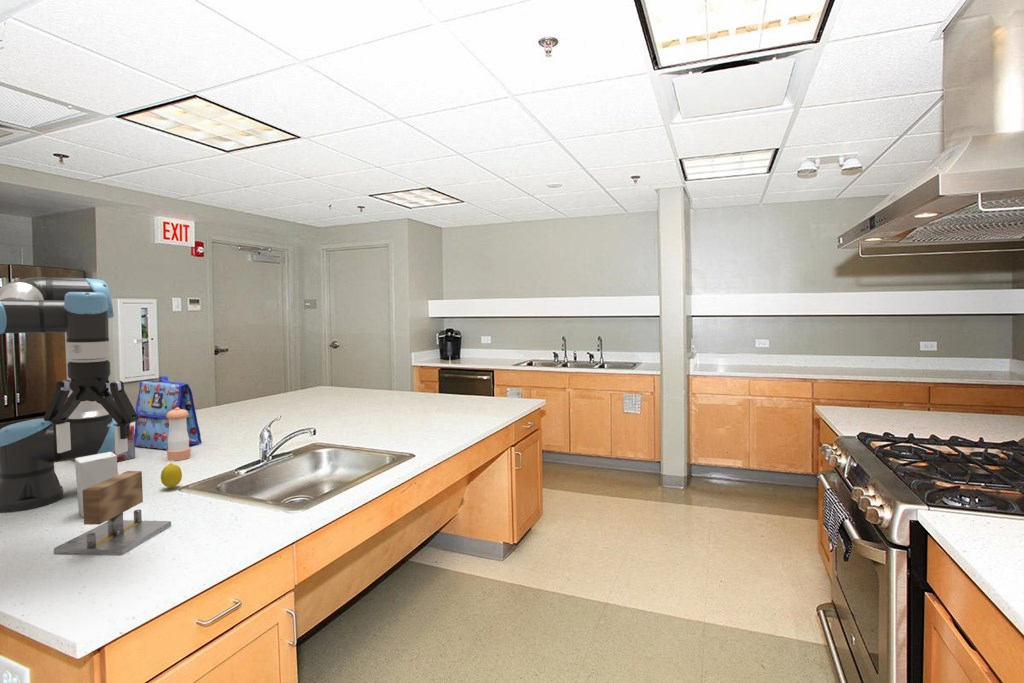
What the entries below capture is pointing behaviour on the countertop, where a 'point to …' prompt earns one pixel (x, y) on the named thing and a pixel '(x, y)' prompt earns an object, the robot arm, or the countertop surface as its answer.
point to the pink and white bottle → (178, 435)
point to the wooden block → (112, 497)
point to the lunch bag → (163, 412)
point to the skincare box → (94, 472)
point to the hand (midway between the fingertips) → (92, 452)
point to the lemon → (171, 475)
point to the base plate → (114, 536)
